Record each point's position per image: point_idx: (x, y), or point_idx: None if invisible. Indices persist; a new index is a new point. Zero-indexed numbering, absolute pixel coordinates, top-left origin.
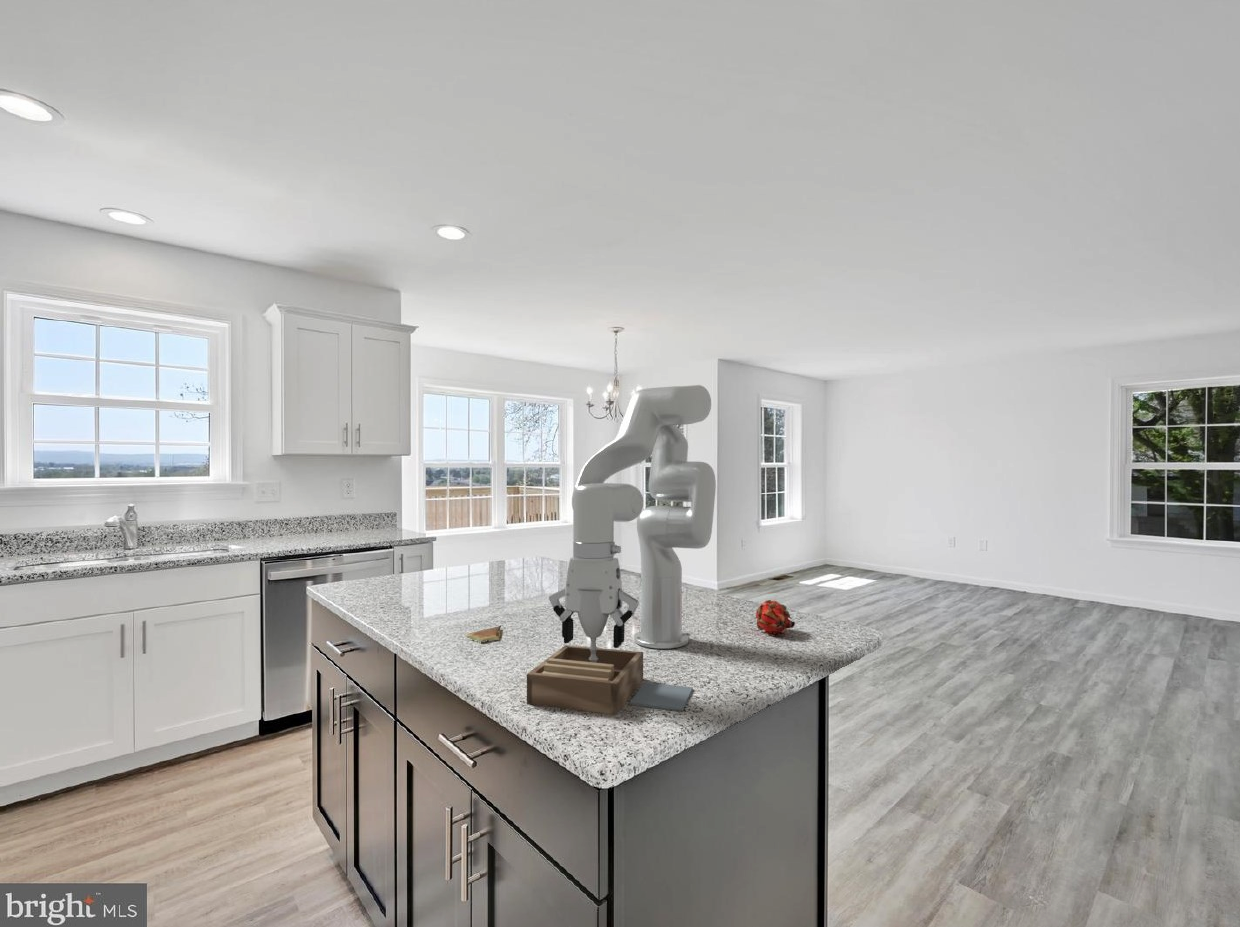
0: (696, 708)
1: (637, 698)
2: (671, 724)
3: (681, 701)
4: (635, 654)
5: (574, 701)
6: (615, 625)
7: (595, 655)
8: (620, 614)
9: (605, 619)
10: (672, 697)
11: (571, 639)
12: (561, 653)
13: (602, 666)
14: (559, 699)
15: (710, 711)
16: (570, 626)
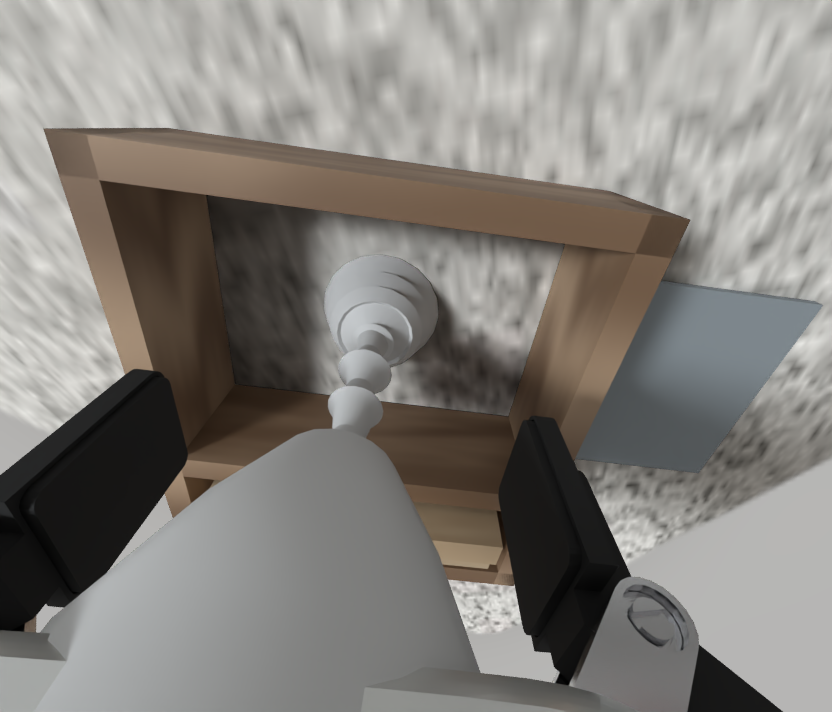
0: (747, 446)
1: None
2: (638, 525)
3: (714, 432)
4: (621, 250)
5: None
6: (543, 638)
7: (376, 390)
8: (640, 706)
9: None
10: (692, 407)
11: (171, 409)
12: (141, 303)
13: (454, 558)
14: None
15: (783, 459)
16: (104, 511)
